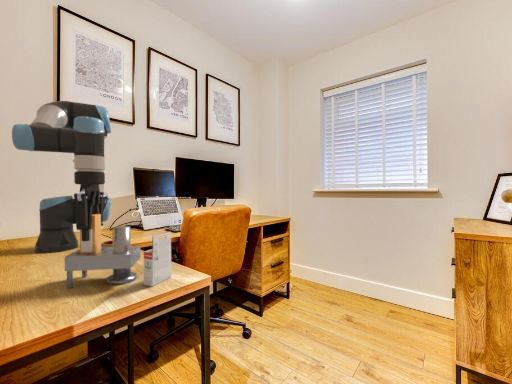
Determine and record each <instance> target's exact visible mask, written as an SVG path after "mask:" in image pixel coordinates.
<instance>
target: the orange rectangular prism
mask: <svg viewBox="0 0 512 384" xmlns="http://www.w3.org/2000/svg"><path fill="white" fill-rule="evenodd" d="M91 229H93V251H92V252H81V230H79V249H80V254H97V253H99V252H101V244H102V226H101V214H92V220H91Z"/></svg>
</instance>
